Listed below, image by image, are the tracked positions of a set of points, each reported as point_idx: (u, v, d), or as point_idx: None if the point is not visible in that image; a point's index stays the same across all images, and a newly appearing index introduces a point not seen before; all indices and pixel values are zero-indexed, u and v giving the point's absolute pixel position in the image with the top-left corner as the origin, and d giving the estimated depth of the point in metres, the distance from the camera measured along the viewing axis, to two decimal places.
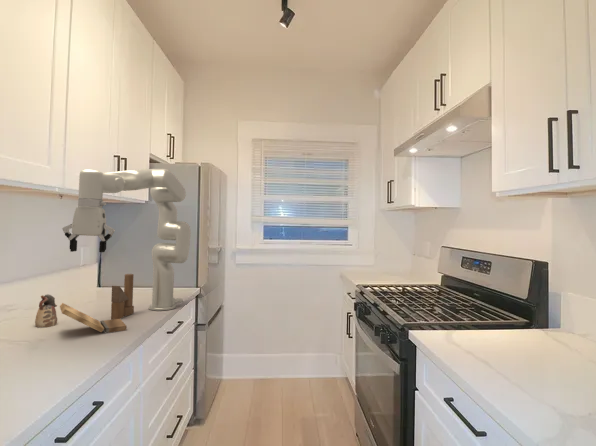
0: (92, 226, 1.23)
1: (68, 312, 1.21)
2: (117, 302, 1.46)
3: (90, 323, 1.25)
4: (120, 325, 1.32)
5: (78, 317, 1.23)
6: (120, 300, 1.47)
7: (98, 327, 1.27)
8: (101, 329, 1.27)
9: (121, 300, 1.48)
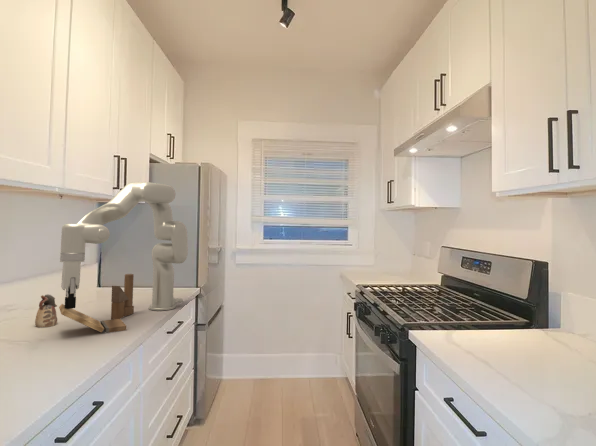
0: None
1: (67, 313, 1.21)
2: (117, 302, 1.46)
3: (90, 323, 1.25)
4: (120, 325, 1.32)
5: (78, 318, 1.23)
6: (121, 300, 1.47)
7: (98, 327, 1.27)
8: (101, 329, 1.27)
9: (121, 300, 1.48)
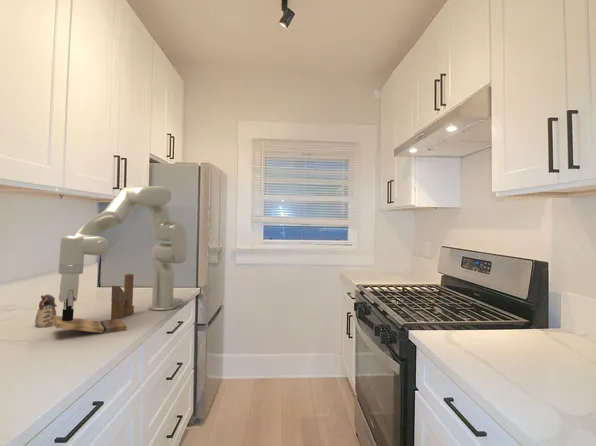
0: None
1: (61, 325, 1.20)
2: (117, 302, 1.46)
3: (88, 328, 1.25)
4: (120, 325, 1.32)
5: (73, 326, 1.22)
6: (121, 300, 1.47)
7: (97, 329, 1.27)
8: (101, 330, 1.27)
9: (121, 300, 1.48)
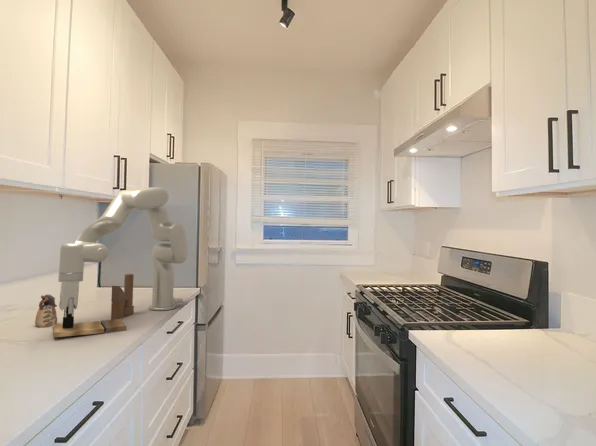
0: None
1: (60, 333, 1.20)
2: (117, 302, 1.46)
3: (87, 331, 1.25)
4: (120, 325, 1.32)
5: (72, 332, 1.22)
6: (121, 300, 1.47)
7: (98, 330, 1.27)
8: (102, 330, 1.27)
9: (121, 300, 1.48)
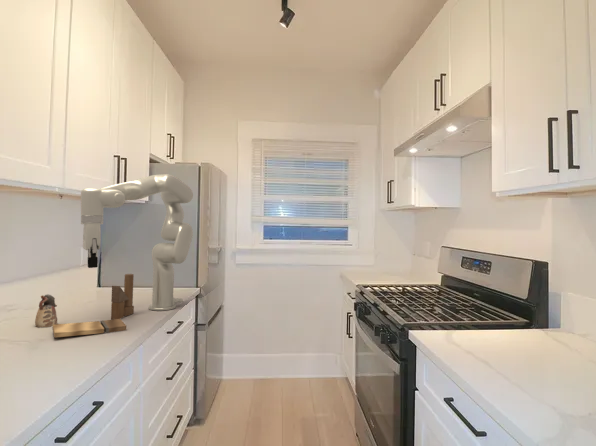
0: None
1: (60, 333, 1.20)
2: (117, 302, 1.46)
3: (87, 331, 1.25)
4: (120, 325, 1.32)
5: (72, 332, 1.22)
6: (121, 300, 1.47)
7: (98, 330, 1.27)
8: (102, 330, 1.27)
9: (121, 300, 1.48)
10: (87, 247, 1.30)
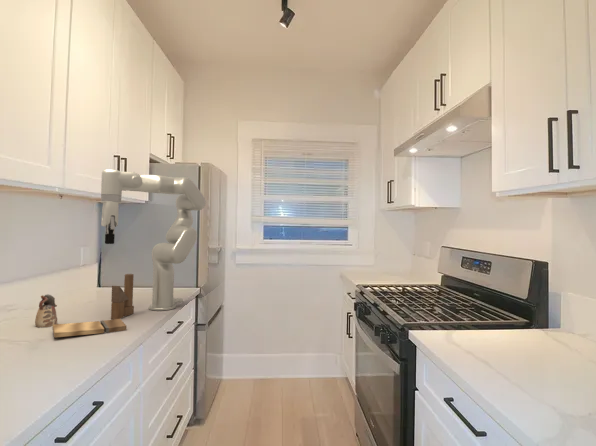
0: None
1: (60, 333, 1.20)
2: (117, 302, 1.46)
3: (87, 331, 1.25)
4: (120, 325, 1.32)
5: (72, 332, 1.22)
6: (121, 300, 1.47)
7: (98, 330, 1.27)
8: (102, 330, 1.27)
9: (121, 300, 1.48)
10: (106, 223, 1.39)
